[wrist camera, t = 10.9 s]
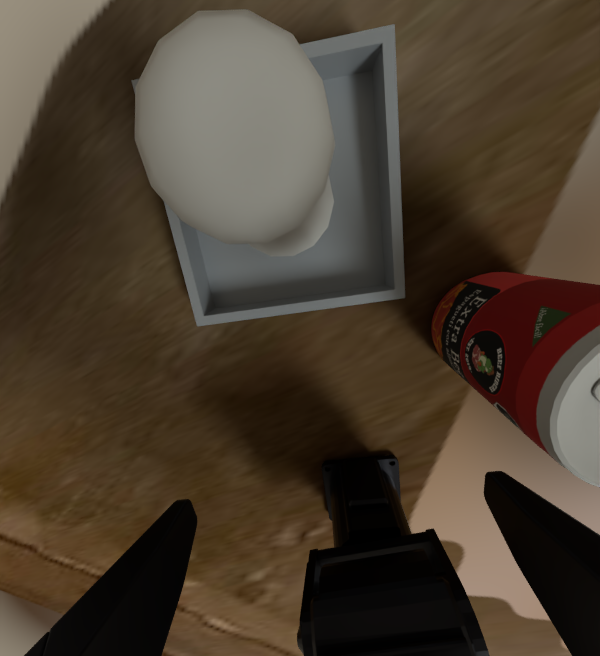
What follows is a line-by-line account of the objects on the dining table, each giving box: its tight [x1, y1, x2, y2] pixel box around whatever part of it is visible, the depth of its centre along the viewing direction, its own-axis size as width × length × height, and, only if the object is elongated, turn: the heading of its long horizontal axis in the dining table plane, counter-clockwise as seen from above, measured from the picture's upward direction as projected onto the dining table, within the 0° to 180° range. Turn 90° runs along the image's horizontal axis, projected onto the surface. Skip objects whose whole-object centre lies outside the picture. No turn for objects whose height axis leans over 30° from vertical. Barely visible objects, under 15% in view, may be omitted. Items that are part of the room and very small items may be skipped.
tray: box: [131, 24, 405, 326], centre depth 17 cm, size 13×13×3 cm
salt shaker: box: [135, 9, 335, 256], centre depth 11 cm, size 6×6×13 cm
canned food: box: [431, 272, 600, 487], centre depth 15 cm, size 8×8×11 cm
